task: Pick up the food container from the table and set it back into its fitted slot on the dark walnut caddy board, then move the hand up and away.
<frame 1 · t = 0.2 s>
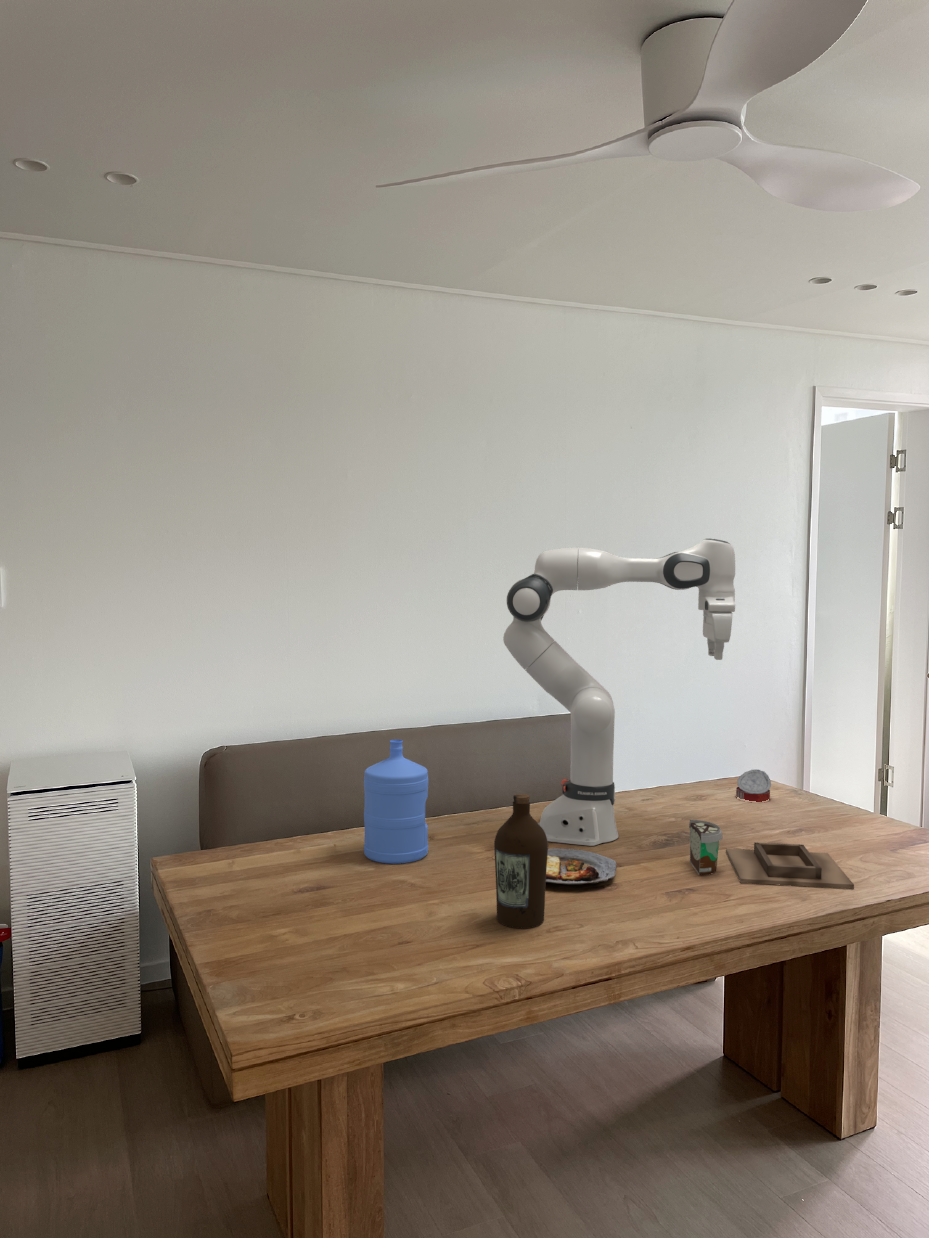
hand: (715, 657, 227), 47 cm above the table, tool pointing down, fingers open, 8 cm apart
food plate: (564, 874, 206), on the table
water jug: (396, 855, 218), on the table
canned food: (752, 799, 273), on the table
food container: (707, 869, 209), on the table
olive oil: (519, 920, 178), on the table
caddy board: (786, 869, 209), on the table
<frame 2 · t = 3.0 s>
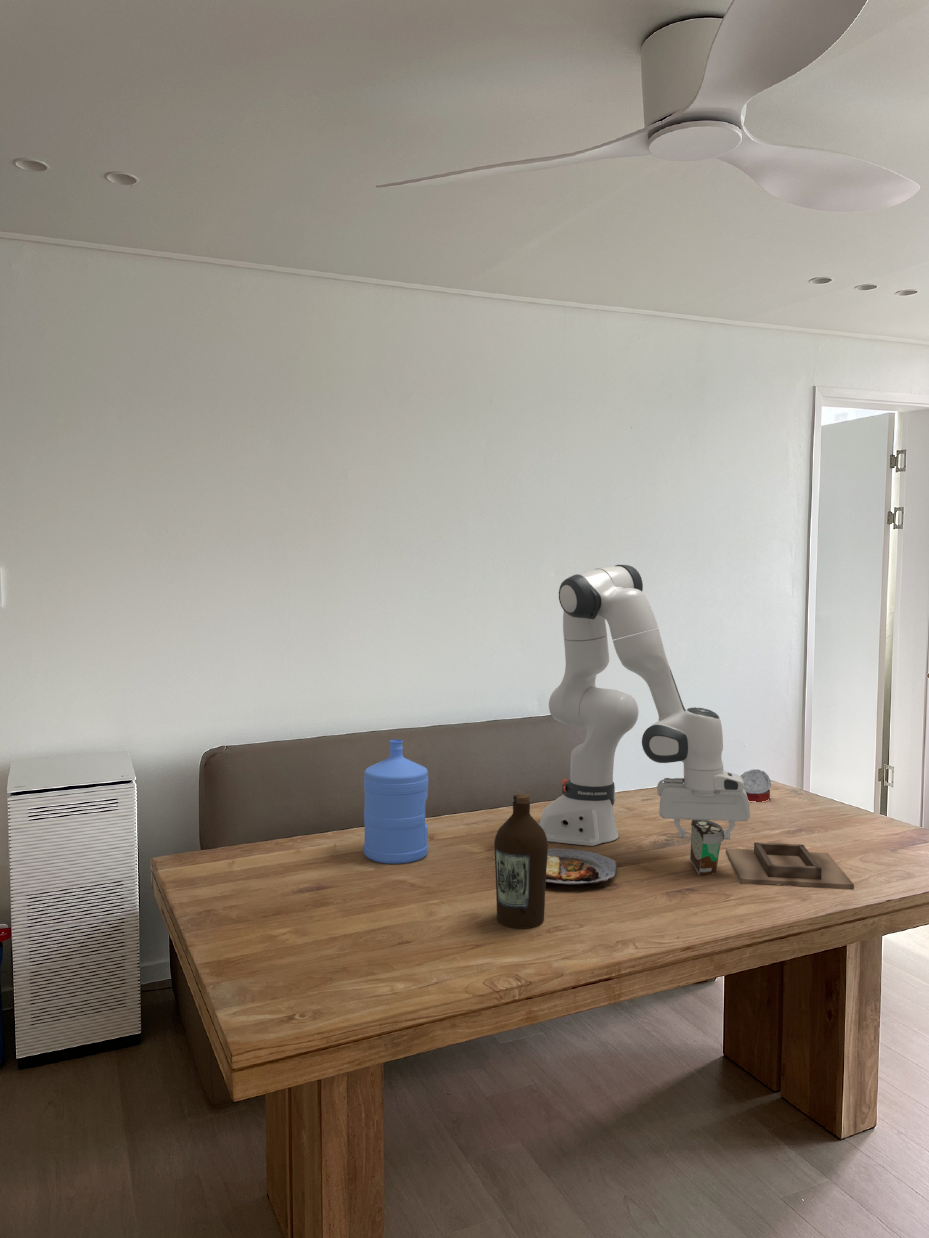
hand: (704, 838, 207), 8 cm above the table, tool pointing down, fingers open, 8 cm apart
food container: (707, 868, 209), on the table, touching gripper
everything else where it was.
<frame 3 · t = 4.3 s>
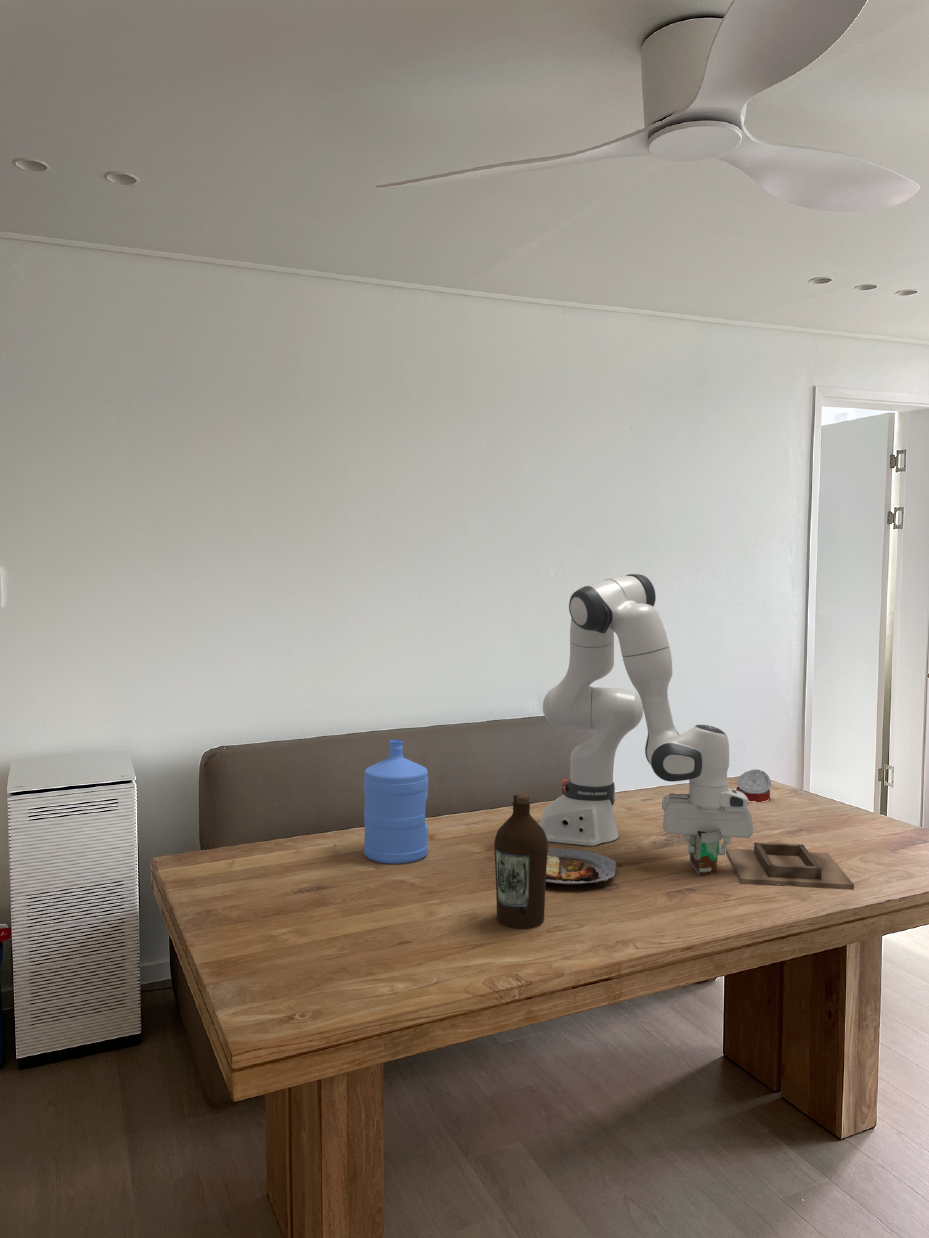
hand: (706, 853, 209), 3 cm above the table, tool pointing down, fingers open, 5 cm apart
nothing on the table moved.
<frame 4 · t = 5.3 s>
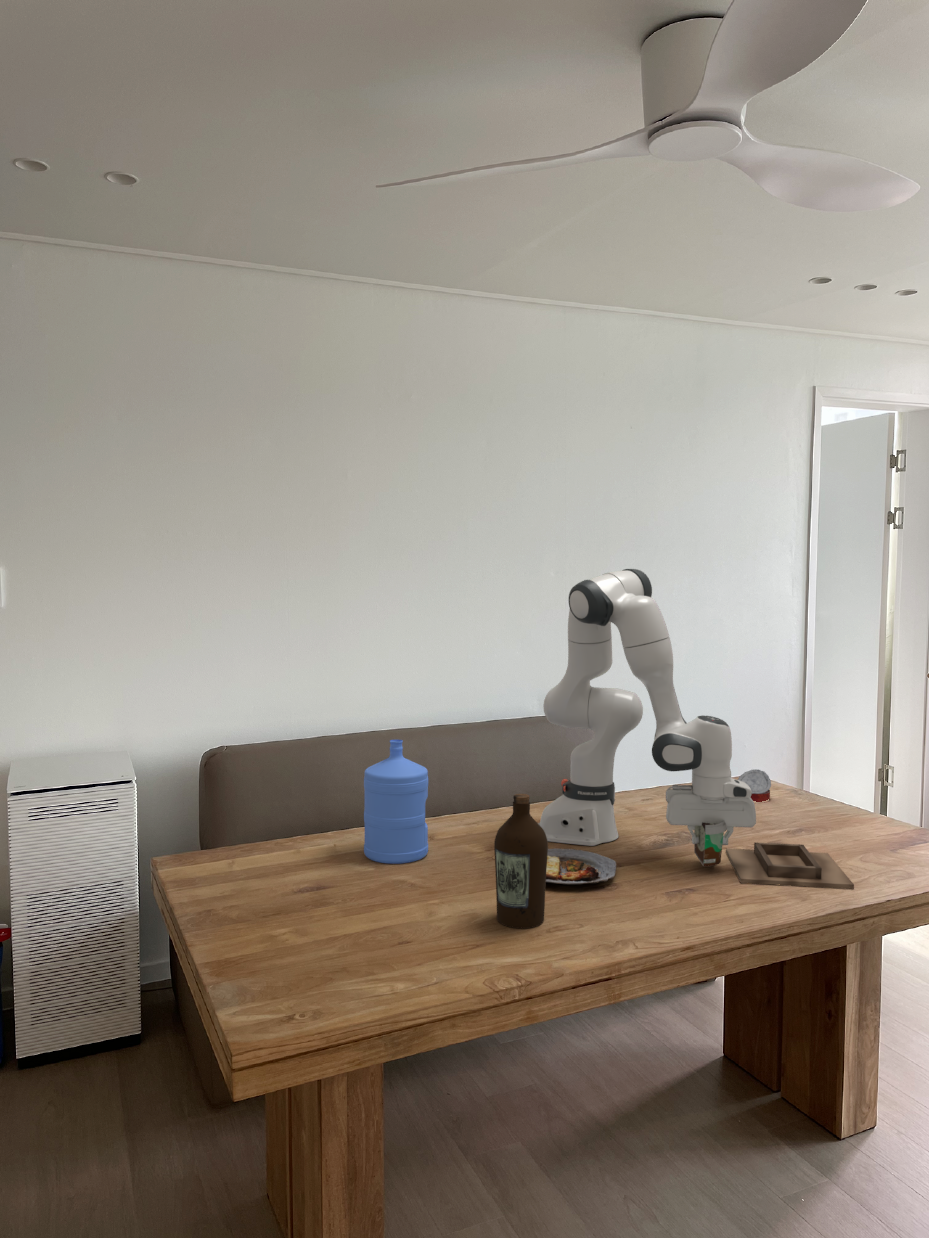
hand: (710, 843, 210), 5 cm above the table, tool pointing down, fingers closed on food container, 5 cm apart
food container: (712, 860, 210), point 2 cm above the table, touching gripper
everything else where it was.
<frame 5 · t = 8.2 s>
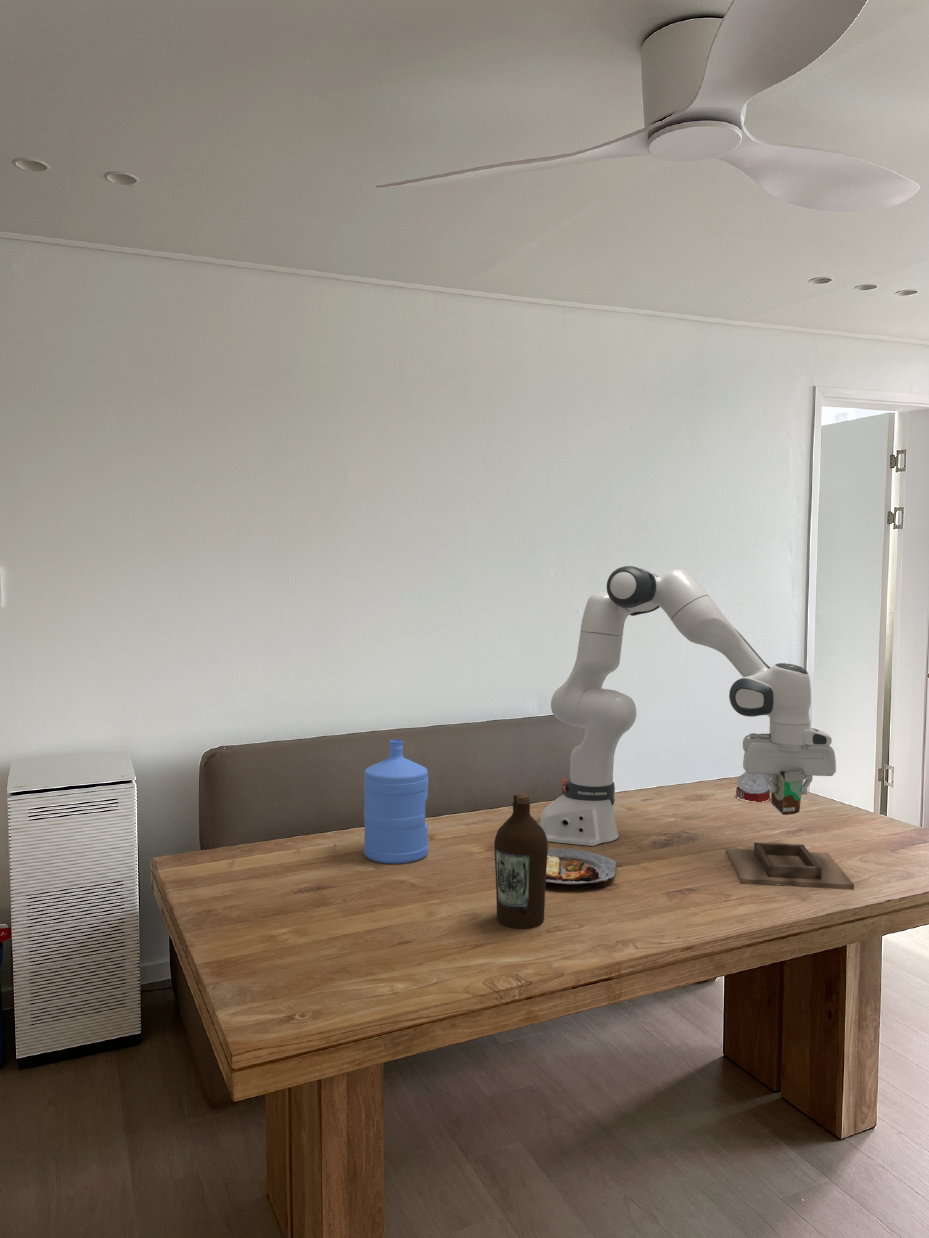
hand: (788, 793, 208), 18 cm above the table, tool pointing down, fingers closed on food container, 5 cm apart
food container: (790, 810, 208), point 14 cm above the table, touching gripper
everything else where it was.
when the fingers open (6 cm above the table, at t = 11.1 s): food container moves 1 cm, point 2 cm above the table.
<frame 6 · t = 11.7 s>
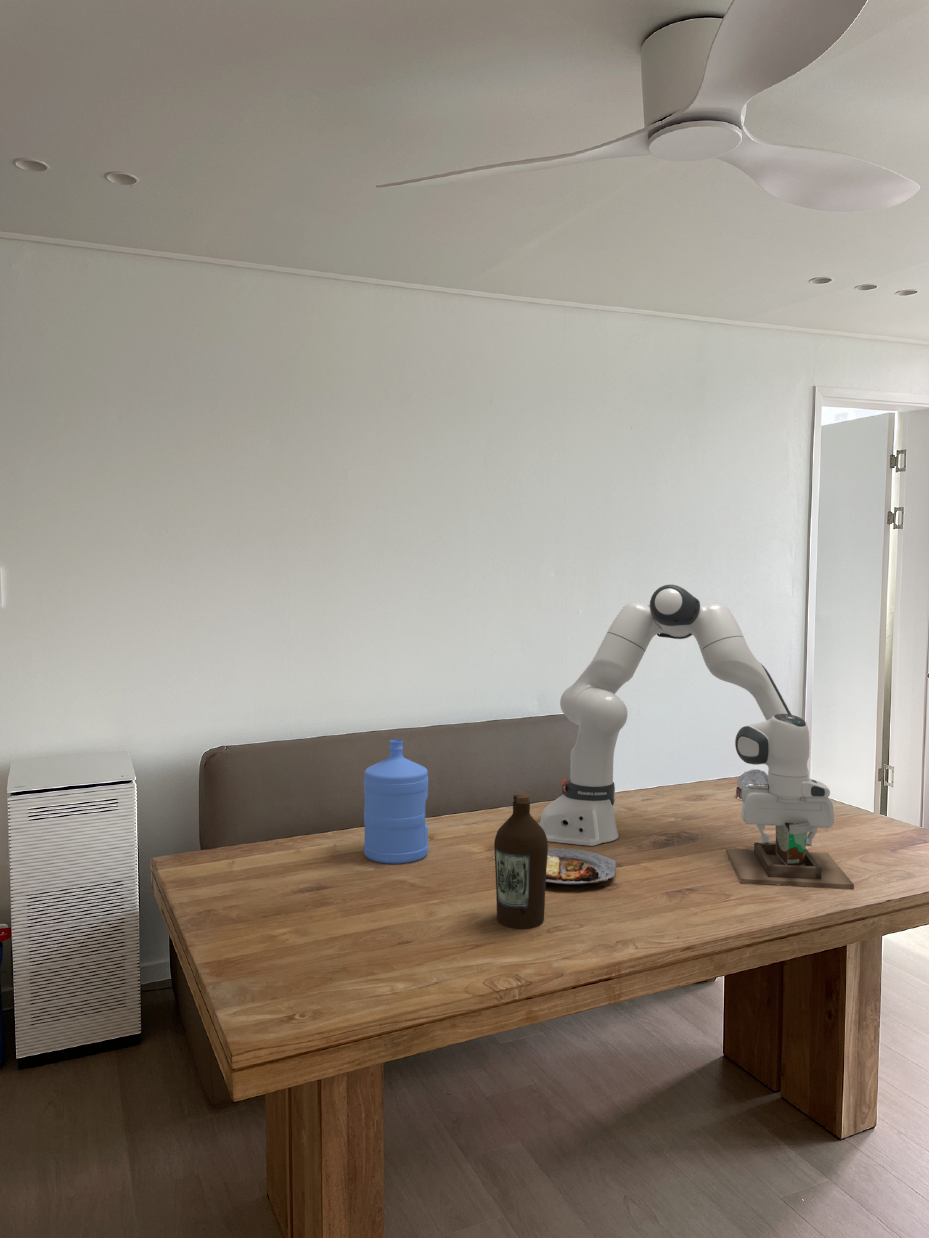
hand: (786, 844, 208), 6 cm above the table, tool pointing down, fingers open, 8 cm apart
food container: (794, 861, 208), point 2 cm above the table, touching gripper
everything else where it was.
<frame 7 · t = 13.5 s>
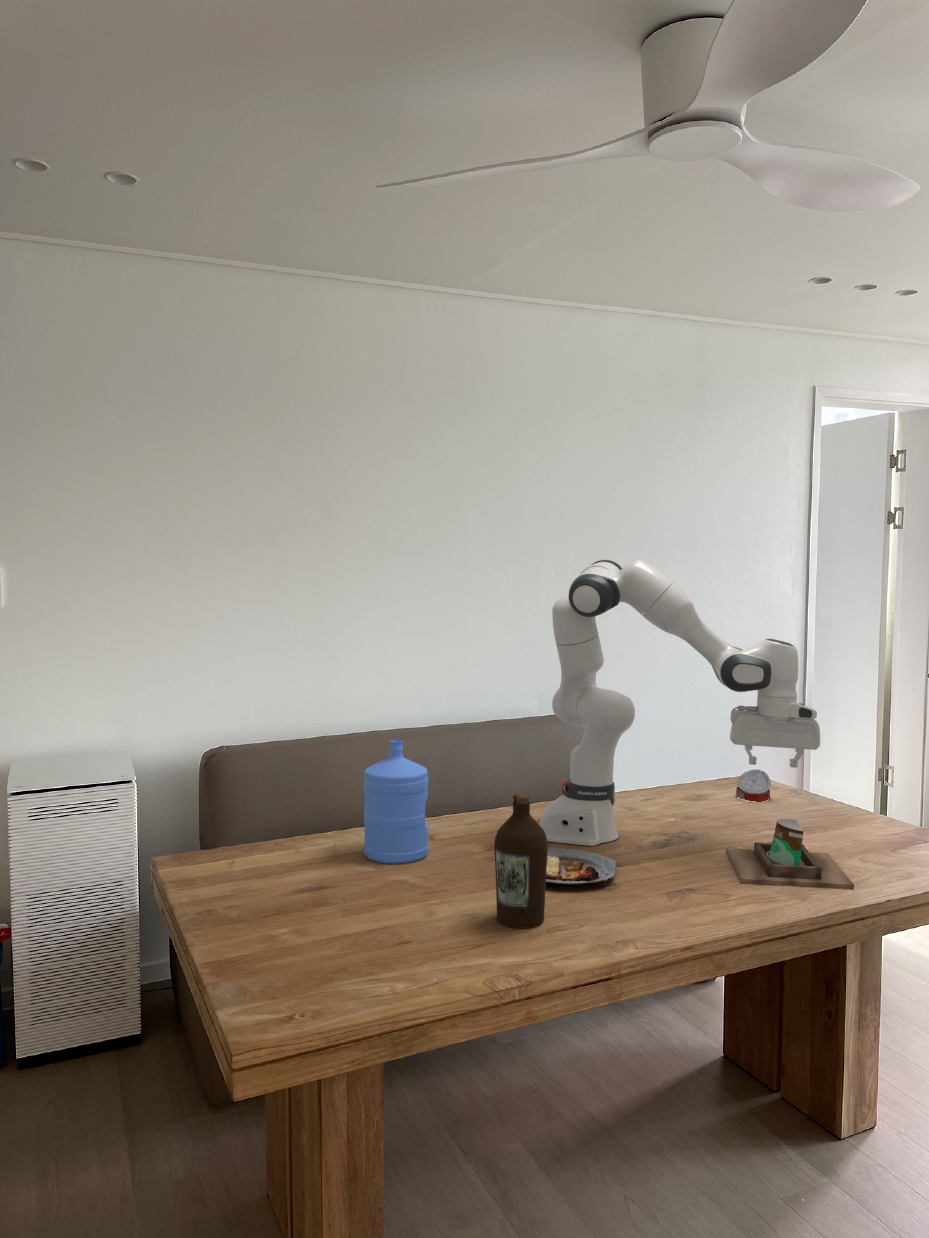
hand: (772, 765, 213), 23 cm above the table, tool pointing down, fingers open, 8 cm apart
food container: (785, 822, 207), point 11 cm above the table, touching caddy board
everything else where it was.
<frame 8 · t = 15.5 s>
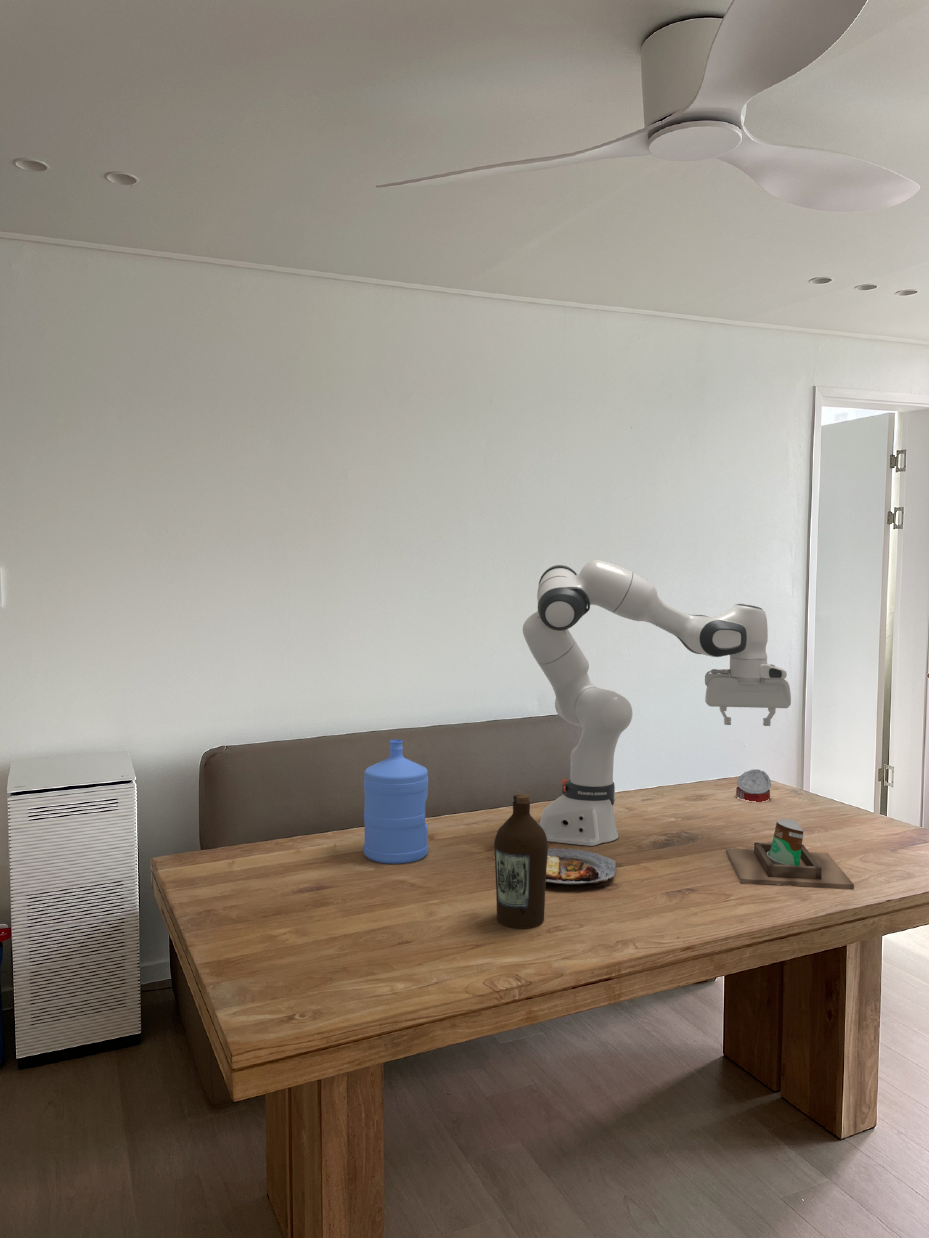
hand: (747, 725, 223), 31 cm above the table, tool pointing down, fingers open, 8 cm apart
nothing on the table moved.
at the end: food container inside the target area on the caddy board (1.4 cm from its centre), point 11.5 cm above the caddy board's base; food container touching caddy board; the gripper is holding nothing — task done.
